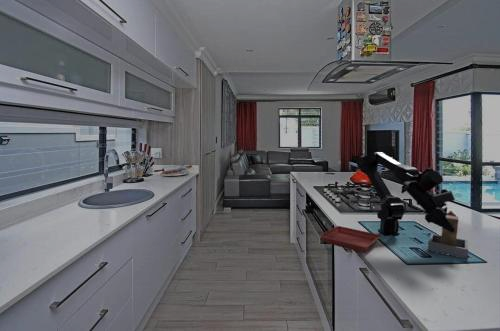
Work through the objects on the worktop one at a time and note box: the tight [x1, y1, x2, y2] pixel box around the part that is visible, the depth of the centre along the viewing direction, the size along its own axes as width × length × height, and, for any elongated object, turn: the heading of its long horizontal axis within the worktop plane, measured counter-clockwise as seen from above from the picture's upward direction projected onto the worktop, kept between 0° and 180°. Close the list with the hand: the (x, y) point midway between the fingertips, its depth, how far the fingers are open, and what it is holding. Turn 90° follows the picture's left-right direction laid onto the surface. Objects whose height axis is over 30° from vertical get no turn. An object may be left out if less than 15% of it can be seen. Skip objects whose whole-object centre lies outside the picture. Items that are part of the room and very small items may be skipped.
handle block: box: [441, 215, 459, 246], centre depth 107 cm, size 4×4×12 cm
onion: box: [447, 210, 457, 216], centre depth 136 cm, size 6×6×8 cm
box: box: [427, 233, 469, 260], centre depth 108 cm, size 12×12×4 cm
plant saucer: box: [319, 225, 382, 253], centre depth 114 cm, size 18×18×3 cm
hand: (453, 229), depth 106 cm, fingers open, 5 cm apart
